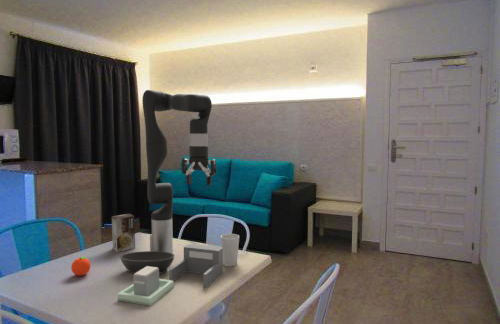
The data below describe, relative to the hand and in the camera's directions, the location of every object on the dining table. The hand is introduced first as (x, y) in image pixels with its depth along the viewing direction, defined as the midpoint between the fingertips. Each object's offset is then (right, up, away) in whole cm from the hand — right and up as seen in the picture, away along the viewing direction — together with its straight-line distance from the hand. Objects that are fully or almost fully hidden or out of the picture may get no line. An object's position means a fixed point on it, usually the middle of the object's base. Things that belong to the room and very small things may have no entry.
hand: (198, 184), depth 151 cm
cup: (+12, -35, +10) cm, 38 cm away
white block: (-15, -36, -20) cm, 44 cm away
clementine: (-46, -36, -3) cm, 58 cm away
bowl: (-21, -35, +1) cm, 41 cm away
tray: (-15, -37, -20) cm, 45 cm away
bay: (0, -36, -6) cm, 36 cm away
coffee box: (-40, -33, +30) cm, 60 cm away
